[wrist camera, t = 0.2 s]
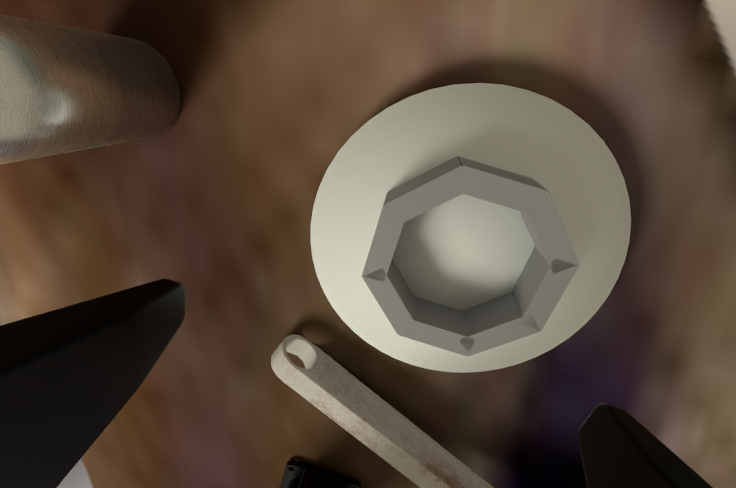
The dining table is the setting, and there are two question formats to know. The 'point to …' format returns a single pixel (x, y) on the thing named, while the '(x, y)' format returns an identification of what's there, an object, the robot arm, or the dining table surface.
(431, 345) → the white and grey disc
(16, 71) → the piston
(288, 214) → the dining table surface
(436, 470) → the wrench
